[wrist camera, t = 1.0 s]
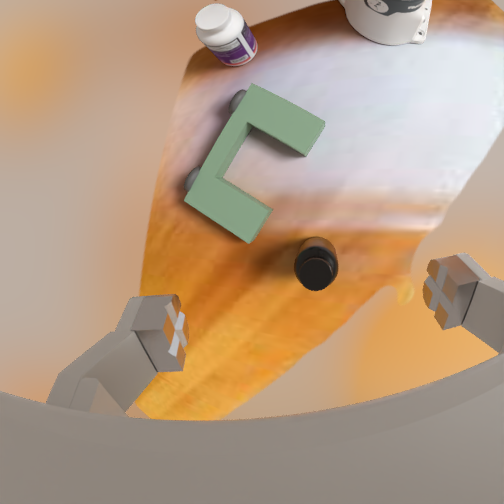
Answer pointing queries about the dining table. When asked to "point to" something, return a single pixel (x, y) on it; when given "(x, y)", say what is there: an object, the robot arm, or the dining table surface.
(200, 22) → the pill bottle
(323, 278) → the supplement bottle
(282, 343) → the dining table surface
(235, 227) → the green u-shaped block
